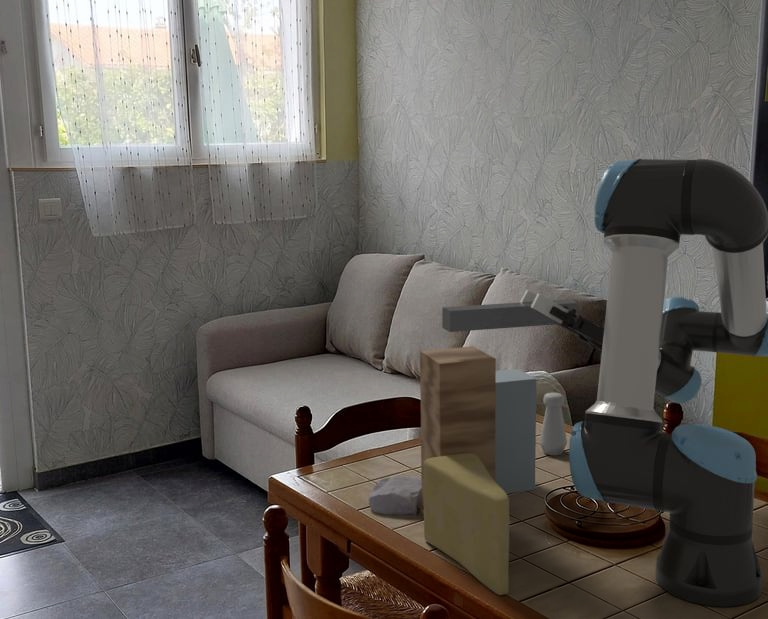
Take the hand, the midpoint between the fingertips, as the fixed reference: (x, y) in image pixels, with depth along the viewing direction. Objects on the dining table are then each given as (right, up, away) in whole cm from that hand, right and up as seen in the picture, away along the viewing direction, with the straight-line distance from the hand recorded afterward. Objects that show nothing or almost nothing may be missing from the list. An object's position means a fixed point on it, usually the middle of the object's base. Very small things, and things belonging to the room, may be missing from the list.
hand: (529, 298), depth 158 cm
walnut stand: (-12, -39, +3) cm, 41 cm away
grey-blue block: (-4, -36, +18) cm, 41 cm away
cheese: (-11, -43, -14) cm, 46 cm away
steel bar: (-3, -5, 0) cm, 6 cm away
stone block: (-23, -38, +12) cm, 46 cm away
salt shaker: (+11, -33, +37) cm, 50 cm away
